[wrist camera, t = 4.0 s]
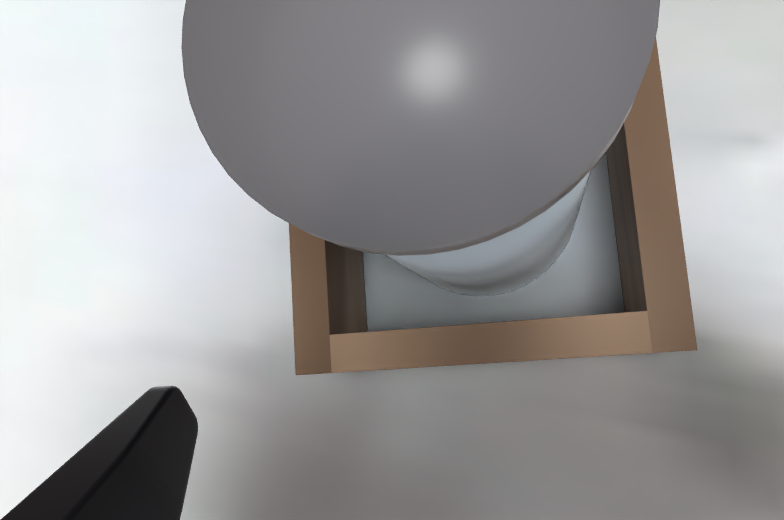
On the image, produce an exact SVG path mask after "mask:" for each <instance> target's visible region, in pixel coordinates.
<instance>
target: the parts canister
mask: <svg viewBox="0 0 784 520" xmlns="http://www.w3.org/2000/svg"><path fill="white" fill-rule="evenodd" d="M659 6H660V0H186V4H185V10H184V16H183V28H182V58H183V69H184V78H185V82H186V87H187V91H188V96H189V100H190V104H191V107H192V109H193V112H194V115H195V118H196V120H197V123H198V126H199V128H200V130H201V132H202V134H203V136H204V138H205V140H206V142H207V143H208V145H209V147H210V149H211V151H212V153H213V154H214V156H215V157H216V158H217V160H218V161H219V162H220V164H221V165H222V167H223V168H224V169H225V171H226V172H227V173H228V175H229V176H230V177H231V178H232V179H233V180H234V181H235V182H236V183H237V184H238V185H239V186H240V187H241V188H242V189H243V190H244V191H245V192H246V193H247V194H248V195H249V196H250V197H251V198H253V199H254V200H255V201H256V202H258V203H259V204H260V205H262V206H263V207H264V208H266V209H267V210H268V211H269V212H271V213H272V214H274V215H276V216H278V217H279V218H281V219H283V220H285V221H287V222H288V223H290V224H292V225H294V226H295V227H297V228H299V229H301V230H303V231H305V232H307V233H310V234H312V235H314V236H316V237H319V238H321V239H324V240H326V241H329V242H331V243H334V244H336V245H339V246H342V247H347V248H351V249H355V250H359V251H363V252H367V253H376V254H385V255H386V256H388V257H390V258H391V259H393V260H395V261H396V262H398V263H400V264H402V265H403V266H405V267H407V268H408V269H410V270H412V271H413V272H415V273H417V274H418V275H420V276H422V277H423V278H425V279H427V280H429V281H430V282H432V283H434V284H436V285H437V286H439V287H441V288H444V289H446V290H449V291H451V292H455V293H459V294H463V295H471V296H491V295H497V294H503V293H506V292H510V291H513V290H516V289H518V288H520V287H523V286H525V285H527V284H528V283H530V282H532V281H533V280H535V279H537V278H538V277H539V276H540V275H542V274H543V273H544V272H545V271H547V270H548V268H549V267H550V266H551V265H552V264H553V263H554V262H555V261H556V260H557V258H558V257H559V256H560V254H561V253H562V252H563V250H564V248H565V246H566V245H567V243H568V241H569V238H570V236H571V233H572V231H573V228H574V225H575V221H576V218H577V215H578V211H579V208H580V205H581V201H582V198H583V195H584V191H585V188H586V185H587V181H588V178H589V175H590V171H591V170H592V169H593V168H594V167H595V165H596V164H597V163H598V161H599V160H600V159H601V157H602V156H603V155H604V153H605V152H606V151H607V149H608V148H609V147H610V145H611V144H612V143H613V141H614V140H615V138H616V136H617V134H618V132H619V131H620V129H621V127H622V125H623V123H624V122H625V120H626V118H627V116H628V114H629V113H630V110H631V108H632V105H633V103H634V100H635V97H636V95H637V92H638V90H639V87H640V85H641V82H642V79H643V77H644V74H645V72H646V69H647V67H648V64H649V61H650V58H651V54H652V49H653V45H654V41H655V37H656V32H657V28H658V17H659Z"/></svg>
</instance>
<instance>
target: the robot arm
mask: <svg viewBox="0 0 784 520" xmlns="http://www.w3.org/2000/svg"><path fill="white" fill-rule="evenodd" d="M197 434H198V423H197V419H196V416H195V414H194V413H193V411H192V409H191V408H190V406H189V404H188V402H187V401H186V399H185V397H184V395H183V394H182V392H181V391H180V389H178V388H177V387H175V386H163V387H154V388H151V389H149V390H148V391H147V392H145V393H144V394H143V395H142V396H141V397H140V398H139V399H137V400H136V401H135V402H134V403H133V404H132V405H131V406H129V407H128V408H127V409H126V410H125V411H124V412H123V413H122V414H120V415H119V416H118V417H117V418H116V419H115V420H114V421H112V422H111V423H110V424H109V425H108V426H107V427H106V428H104V429H103V430H102V431H101V432H100V433H99V434H98V435H96V436H95V437H94V438H93V439H92V440H91V441H90V442H89V443H87V444H86V445H85V446H84V447H83V448H82V449H81V450H79V451H78V452H77V453H76V454H75V455H74V456H73V457H71V458H70V459H69V460H68V461H67V462H66V463H65V464H63V465H62V466H61V467H60V468H59V469H58V470H57V471H55V472H54V473H53V474H52V475H51V476H50V477H49V478H48V479H46V480H45V481H44V482H43V483H42V484H41V485H40V486H38V487H37V488H36V489H35V490H34V491H33V492H32V493H30V494H29V495H28V496H27V497H26V498H25V499H24V500H22V501H21V502H20V503H19V504H18V505H17V506H16V507H15V508H13V509H12V510H11V511H10V512H9V513H8V514H7V515H5V516H4V517H3V518H2V519H1V520H180V516H181V512H182V508H183V503H184V498H185V493H186V488H187V483H188V478H189V474H190V469H191V464H192V459H193V454H194V449H195V444H196V439H197Z"/></svg>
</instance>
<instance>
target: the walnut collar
mask: <svg viewBox="0 0 784 520" xmlns="http://www.w3.org/2000/svg"><path fill="white" fill-rule="evenodd" d="M606 155H607V164H608V172H609V181H610V189H611V198H612V206H613V215H614V223H615V232H616V240H617V249H618V257H619V266H620V274H621V282H622V291H623V299H624V308H625V313H613V314H599V315H586V316H573V317H560V318H546V319H533V320H520V321H506V322H493V323H480V324H467V325H453V326H440V327H427V328H413V329H400V330H387V331H373V332H367V317H366V300H365V284H364V267H363V251H359V250H355V249H351V248H347V247H342V246H339V245H336V244H334V243H331V242H329V241H326V240H324V239H321V238H319V237H316V236H314V235H312V234H310V233H307V232H305V231H303V230H301V229H299V228H297V227H295V226H294V225H292V224H290V223H289V234H290V257H291V280H292V302H293V325H294V347H295V370H296V375H306V374H322V373H338V372H354V371H370V370H386V369H402V368H418V367H434V366H450V365H466V364H482V363H498V362H514V361H530V360H546V359H562V358H578V357H594V356H610V355H626V354H642V353H658V352H674V351H690V350H697V344H696V336H695V329H694V321H693V314H692V306H691V299H690V291H689V283H688V276H687V268H686V261H685V253H684V246H683V238H682V231H681V223H680V216H679V208H678V201H677V193H676V186H675V178H674V170H673V163H672V155H671V148H670V140H669V133H668V125H667V118H666V110H665V103H664V95H663V88H662V80H661V72H660V65H659V57H658V50H657V42H656V37H655V41H654V45H653V49H652V54H651V58H650V61H649V64H648V67H647V69H646V72H645V74H644V77H643V79H642V82H641V85H640V87H639V90H638V92H637V95H636V97H635V100H634V103H633V105H632V108H631V110H630V113H629V114H628V116H627V118H626V120H625V122H624V123H623V125H622V127H621V129H620V131H619V132H618V134H617V136H616V138H615V140H614V141H613V143H612V144H611V145H610V147H609V148H608V149H607V151H606Z"/></svg>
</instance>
